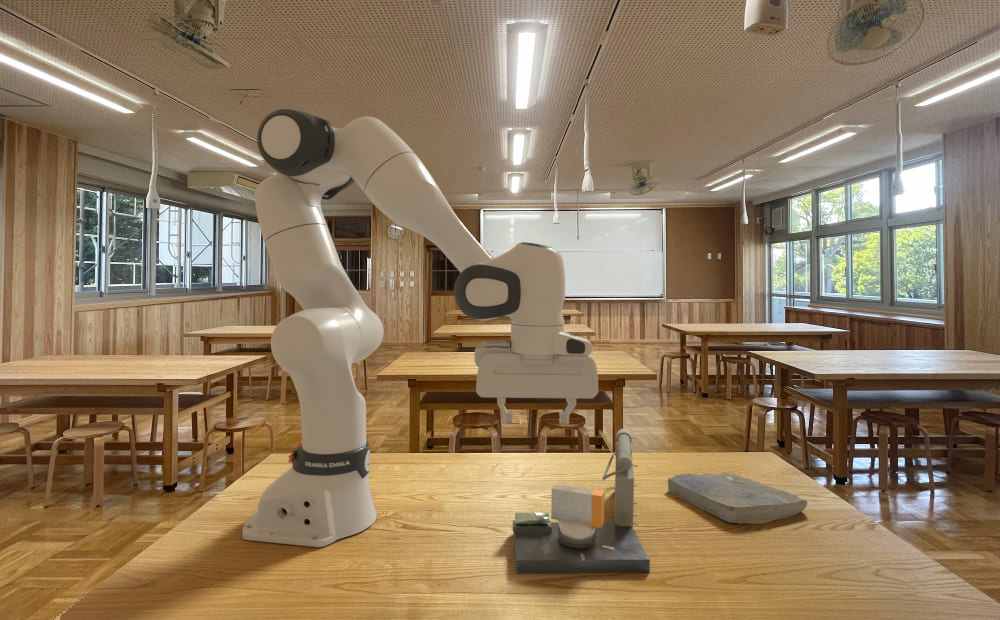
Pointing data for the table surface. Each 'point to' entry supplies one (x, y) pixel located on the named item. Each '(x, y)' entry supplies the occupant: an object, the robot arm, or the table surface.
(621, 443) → the geiger counter
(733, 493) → the grey stone slab
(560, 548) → the stand
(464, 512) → the table surface
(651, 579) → the table surface
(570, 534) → the knob
